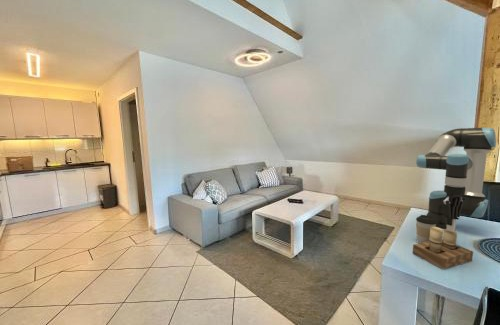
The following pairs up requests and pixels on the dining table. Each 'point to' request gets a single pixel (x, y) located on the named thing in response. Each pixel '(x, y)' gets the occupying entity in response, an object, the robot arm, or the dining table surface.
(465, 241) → the dining table surface
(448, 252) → the board
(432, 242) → the peg
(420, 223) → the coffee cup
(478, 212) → the robot arm
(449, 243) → the peg
